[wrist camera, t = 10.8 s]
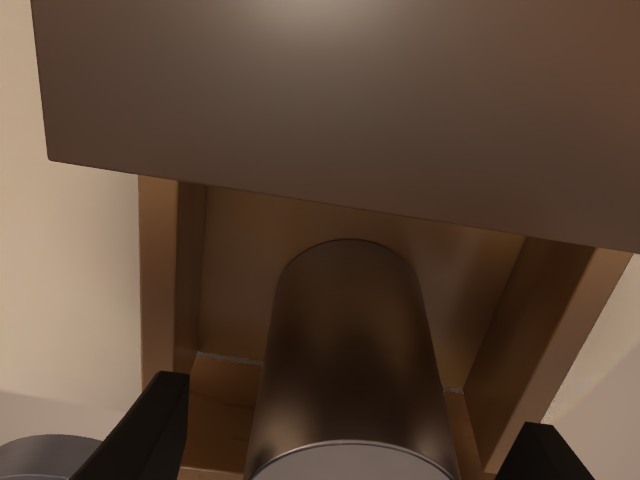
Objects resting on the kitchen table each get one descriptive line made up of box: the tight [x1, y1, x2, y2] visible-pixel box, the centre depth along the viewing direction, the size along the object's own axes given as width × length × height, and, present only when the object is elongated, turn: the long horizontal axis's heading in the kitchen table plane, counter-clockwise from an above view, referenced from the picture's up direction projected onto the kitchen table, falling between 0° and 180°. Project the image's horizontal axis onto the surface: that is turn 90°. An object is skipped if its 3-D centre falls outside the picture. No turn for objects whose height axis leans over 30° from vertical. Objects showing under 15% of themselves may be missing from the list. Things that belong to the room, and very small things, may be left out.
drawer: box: [138, 175, 634, 480], centre depth 15 cm, size 17×11×4 cm, turn 171°
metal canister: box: [243, 240, 461, 480], centre depth 13 cm, size 4×4×6 cm
